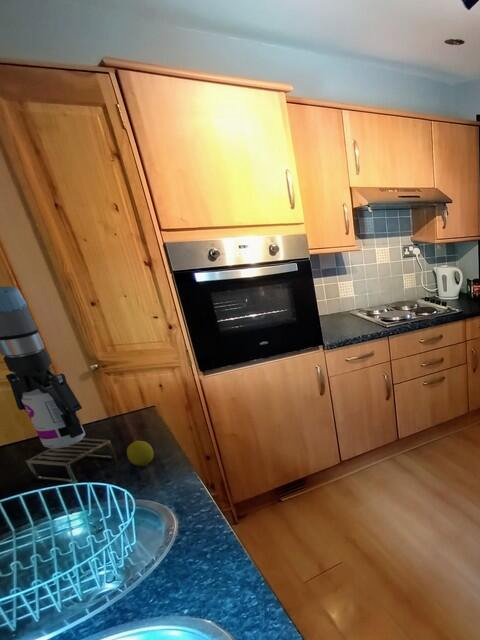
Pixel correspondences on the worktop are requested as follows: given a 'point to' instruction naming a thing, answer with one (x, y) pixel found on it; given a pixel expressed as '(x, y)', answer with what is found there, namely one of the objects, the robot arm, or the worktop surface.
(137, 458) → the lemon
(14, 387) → the robot arm
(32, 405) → the supplement can
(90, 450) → the wire rack
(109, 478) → the worktop surface
